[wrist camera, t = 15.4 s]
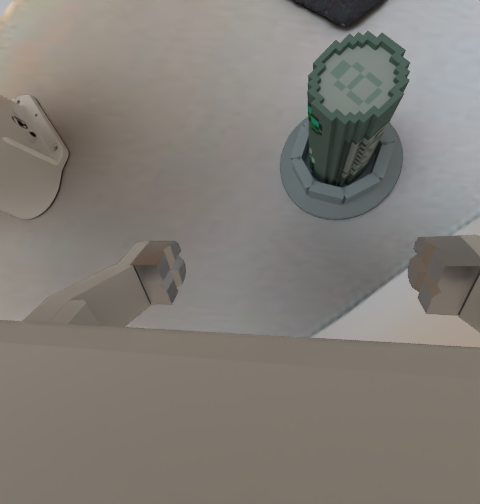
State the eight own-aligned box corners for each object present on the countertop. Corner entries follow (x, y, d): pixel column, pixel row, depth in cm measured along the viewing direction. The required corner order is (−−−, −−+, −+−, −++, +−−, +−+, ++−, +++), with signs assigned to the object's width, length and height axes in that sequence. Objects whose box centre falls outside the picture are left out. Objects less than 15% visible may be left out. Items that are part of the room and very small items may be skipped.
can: (338, 128, 32) (359, 15, 18) (375, 161, 31) (430, 68, 16) (300, 164, 33) (291, 85, 19) (335, 197, 32) (353, 140, 17)
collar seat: (263, 148, 36) (257, 134, 32) (363, 87, 33) (369, 63, 29) (311, 239, 33) (311, 235, 30) (424, 183, 30) (440, 170, 26)
